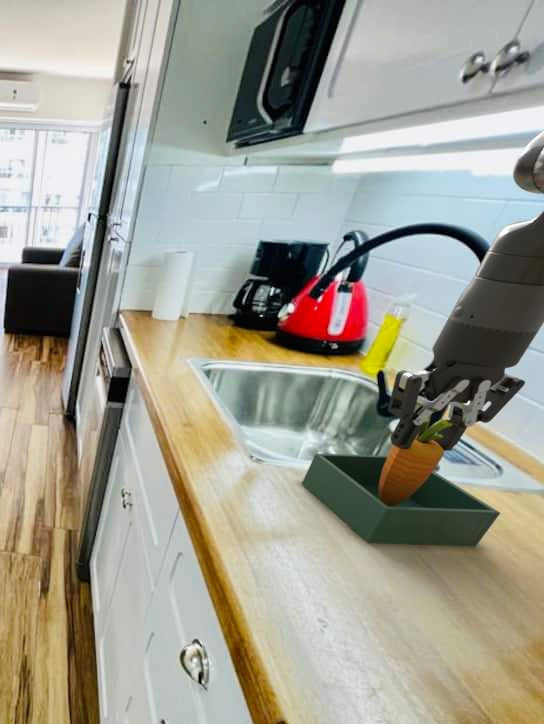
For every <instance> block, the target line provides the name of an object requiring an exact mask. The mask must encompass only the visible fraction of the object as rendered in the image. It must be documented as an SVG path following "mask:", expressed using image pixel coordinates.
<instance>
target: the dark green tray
mask: <svg viewBox="0 0 544 724" xmlns="http://www.w3.org/2000/svg"><path fill="white" fill-rule="evenodd" d="M387 457H388V455H376V454H342V453H317V452H316V453H315V454H314V456H313V459H312V461H311V463H310V464H309V467H308V469H307V471H306V474H305V476H304V478H303V480H302V482H301V485H302V486H303V487H305V489H307V490H308V491H309V492H310V493H311V494H312V495H313V496H315V498H316V499H318V500H319V501H320V502H321V503H322V504H323V505H324V506H326V507H327V508H328V509H329V510H330V511H331V512H332V513H334V514H335V515H336V517H338V518H339V520H341V521H342V522H344V523H345V524H346V525H347V526H348V527H349V528H350V529H351V530H352V531H353V532H355V533H356V534H357V535H358V536H359V537H360V538H361V539H362V540H363V541H365V543H367V544H388V545H389V544H390V545H418V546H419V545H420V546H421V545H422V546H447V547H448V546H449V547H472V548H473V547H476V548H477V546H478V544H479V543H480V542H481V540H482V539H483V537H484V536H485V535H486V533H487V532H488V531H489V529H490V528H491V527H492V525H493V524H494V523H495V521H496V520H497V518H498V517H499V516H500V514H501V512H500V511H499V510H497V509H495V508H493V506H490V505H489V504H488V503H486V502H484V501H482V500H481V499H479V498H477V497H476V496H475V495H473V494H471V493H470V492H468V491H466V490H465V489H463V488H461V487H460V486H458V485H456V484H455V483H453V482H452V481H450V480H448V479H447V478H446V477H444V476H442V475H440V473H437V472H436V471H434V470H433V472H432V473H431V474H430V476H429V477H428V479H427V480H426V481H425V482H424V483H423V484H422V485H421V486H420V487H419V489H417V490H416V491H415V492H414V493H413V494H412V495H411V496H410V497H409V498H407V499H406V500H404V501H403V502H401V503H400V504H398V505H396V506H394V507H388V506H387V505H386V504H384V503H383V502H382V501H380V500H379V496H378V486H379V481H380V476H381V473H382V469H383V466H384V464H385V462H386V459H387Z"/></svg>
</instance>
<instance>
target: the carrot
mask: <svg viewBox="0 0 544 724" xmlns="http://www.w3.org/2000/svg"><path fill="white" fill-rule="evenodd" d="M431 415H432V414H431ZM431 415H430V416H429V417H428V418H427V419H426V420H425V421H424V422H423V423H422V424H420V425H422V427H421V429H420V431H419V432H418V434H417V436H416V438H415V439H414V441H413V443H412V445H411V446H410V448H409V449H400V448H398V447H396V446H395V445H393V444H392V447H391V449H390V450H389V453H388V455H387V456H388V457H387V459H386V462H385V464H384V466H383V469H382V473H381V476H380V481H379V486H378V496H379V500H380V501H382V502H383V503H384V504H386V505H387V506H388V507H394V506H396V505H398V504H400V503H401V502H403V501H404V500H406V499H407V498H409V497H410V496H411V495H412V494H413V493H414V492H415V491H416V490H417V489H419V487H420V486H421V485H422V484H423V483H424V482H425V481H426V480H427V479H428V477H429V476H430V474H431V473H432V472H433V471H434V470H435V469H436V467H437V466H438V465H439V463H440V461H442V459H443V457H444V454H445V451H444V450H443V449H442V447H441V446H440V445H439V444H438V443H437V442H435V441H433V440H435V439H439V438H442V437H443V436H442V435H440V434H437V432H438V431H440V430H442V429H444V428H447V427H450V426H453V424H451V423H448V422H447V421H446V420H447V419H445V418H441V419H440V420H438V421H436V422H434V423H433V424H432V425H430V422H431V417H432V416H431ZM429 425H430V426H429Z"/></svg>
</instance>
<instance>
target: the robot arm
mask: <svg viewBox="0 0 544 724" xmlns="http://www.w3.org/2000/svg"><path fill="white" fill-rule="evenodd" d="M512 177H513V180H514V182H515V184H516V185H517V186H518V187H519V188H520V189H521V190H523V191H525V192H528V193H531V194H537V195H544V130H542V131H541V132H540V133H539V134H538V135H536V136H535V137H534V138H533V139H532V140H531V141H530V142H528V144H527V145H526V146H525V147H524V148H523V150H522V151H521V152H520V154H519V155H518V157H517V159H516V161H515V163H514V166H513V171H512ZM543 325H544V209H543V210H542V211H541V212H540V213H538V215H537V216H536V217H535V216H534V217H533V218H530V219H525V220H519V221H514V222H512V223H509V224H508V225H506V226H504V227H503V228H501V230H500V231H499V232H498V233H497V235H496V236H495V237H494V239H493V240H492V243H491V245H490V246H489V247H488V250H487V251H486V252H485V255H484V257H483V259H482V260H481V262H480V264H479V266H478V268H477V269H476V271H475V274H474V275H473V277H472V279H471V280H470V282H469V283H468V284H467V286H466V287H465V289H464V290H463V291H462V293H461V294H460V296H459V297H458V299H457V301H456V303H455V305H454V307H453V309H452V310H451V312H450V314H449V316H448V318H447V320H446V322H445V324H444V326H443V327H442V329H441V331H440V332H439V334H438V337H437V339H436V340H435V342H434V344H433V345H432V348H431V349H432V353H433V359H432V360H430V362H429V363H428V364H427V365H425V367H424V368H423V370H419V371H413V372H409V371H407V370H405V369H404V370H403V369H402V370H399V371H398V372H397V373H396V374H395V379H394V383H393V387H392V391H391V395H390V399H389V404H388V408H387V411H388V413H390V414H392V415H394V416H396V417H398V418H399V421H398V422H397V424H396V427H395V428H394V430H393V432H392V434H391V436H390V443H391V444H392V446H393V445H395V446H396V447H398V448H400V449H409V448H410V446H411V445H412V443H413V441H414V439H415V438H416V436H418V432H419V431H420V429H421V427H422V425H420V424H422V423H423V422H424V421H425V420H426V419H427V418H428V417H429V416H430V415H432V414H433V413H435V412H439V411H442V409H444V407H445V406H446V405H448V404H450V407H449V411H448V419H445V420H446V421H447V422H448V423H451V424H453V426H450V427H447V428H444V429H442V430H440V431H438V432H437V433H436V434H440V435H442V436H443V437H442V438H439V439H435V440H433V441H435V442H437V443H438V444H439V445H440V446H441V447H442V449H443V450H444V452H445V451H448V452H449V451H452V450H453V448H454V447H455V446H457V444H458V443H459V441H460V440H461V438H462V437H463V435H464V433H465V431H467V429H468V428H469V427H472V426H474V425H475V424H476V423H479V422H481V423H483V424H487V423H489V422H491V421H492V420H493V419H494V418H495V417H496V416H497V415H498V414H499V413H500V412H501V410H503V408H505V406H506V405H507V404H508V403H509V402H510V401H511V400H512V399H513V398H514V397H515V395H517V394H518V392H519V391H521V389H522V388H523V387H524V386H525V384H526V381H525V380H523V379H520V378H518V377H516V376H514V375H511V374H506V372H505V371H506V369H509V368H513V367H515V366H517V365H518V364H519V362H520V361H521V359H522V358H523V356H524V355H525V353H526V352H527V350H528V348H529V347H530V345H531V344H532V342H533V341H534V339H535V337H536V336H537V334H538V333H539V331H540V330H541V328H542V326H543ZM427 396H428V398H431V399H432V401H431V400H429V399H427ZM488 403H490V405H489V406H488V407H487V408H486V409H485V410H483V409H484V407H485V406H486V404H488ZM421 406H422V408H421V409H420V410H419V411H418V412H417V413H416V411H417V410H418V409H419V408H420V407H421Z"/></svg>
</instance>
